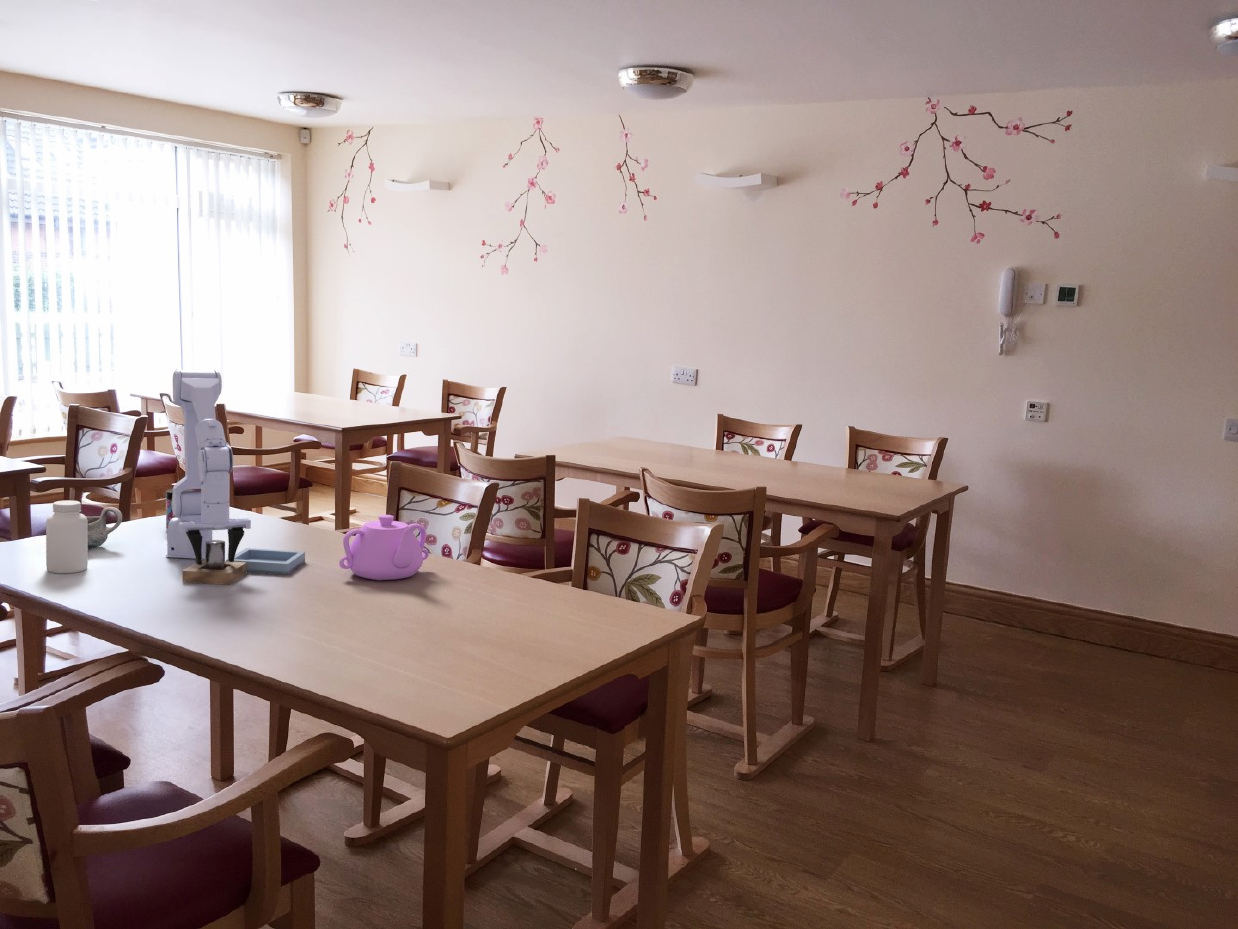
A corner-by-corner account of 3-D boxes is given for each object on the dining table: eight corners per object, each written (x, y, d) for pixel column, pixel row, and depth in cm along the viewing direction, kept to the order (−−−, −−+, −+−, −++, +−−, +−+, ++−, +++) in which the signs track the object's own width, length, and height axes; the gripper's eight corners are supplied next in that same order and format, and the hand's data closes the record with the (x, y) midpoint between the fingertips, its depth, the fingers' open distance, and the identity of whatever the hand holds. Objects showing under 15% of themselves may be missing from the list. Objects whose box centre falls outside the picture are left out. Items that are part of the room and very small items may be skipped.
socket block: (182, 582, 215) (182, 570, 215) (202, 570, 225) (202, 559, 225) (228, 584, 215) (228, 573, 215) (246, 573, 225) (246, 562, 225)
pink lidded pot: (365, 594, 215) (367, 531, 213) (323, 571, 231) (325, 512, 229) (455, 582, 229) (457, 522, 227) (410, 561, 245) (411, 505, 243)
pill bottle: (86, 573, 217) (84, 505, 215) (43, 575, 214) (42, 506, 212) (90, 564, 225) (89, 498, 222) (49, 565, 222) (48, 499, 219)
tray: (226, 570, 226) (226, 560, 226) (246, 558, 238) (246, 548, 238) (287, 574, 226) (288, 563, 226) (304, 562, 238) (305, 551, 238)
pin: (202, 579, 218) (202, 543, 217) (209, 574, 222) (209, 539, 221) (220, 580, 218) (220, 544, 217) (227, 576, 222) (228, 540, 221)
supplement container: (172, 526, 266) (172, 487, 265) (198, 528, 266) (198, 489, 265) (161, 531, 260) (161, 492, 258) (187, 533, 260) (187, 493, 258)
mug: (64, 544, 241) (64, 503, 239) (123, 542, 246) (122, 502, 245) (61, 553, 232) (61, 511, 231) (122, 551, 238) (121, 510, 236)
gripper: (183, 506, 210) (183, 569, 212) (254, 503, 219) (254, 563, 221) (176, 500, 216) (176, 562, 218) (246, 497, 224) (245, 556, 226)
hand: (215, 562), depth 220 cm, fingers open, 6 cm apart
